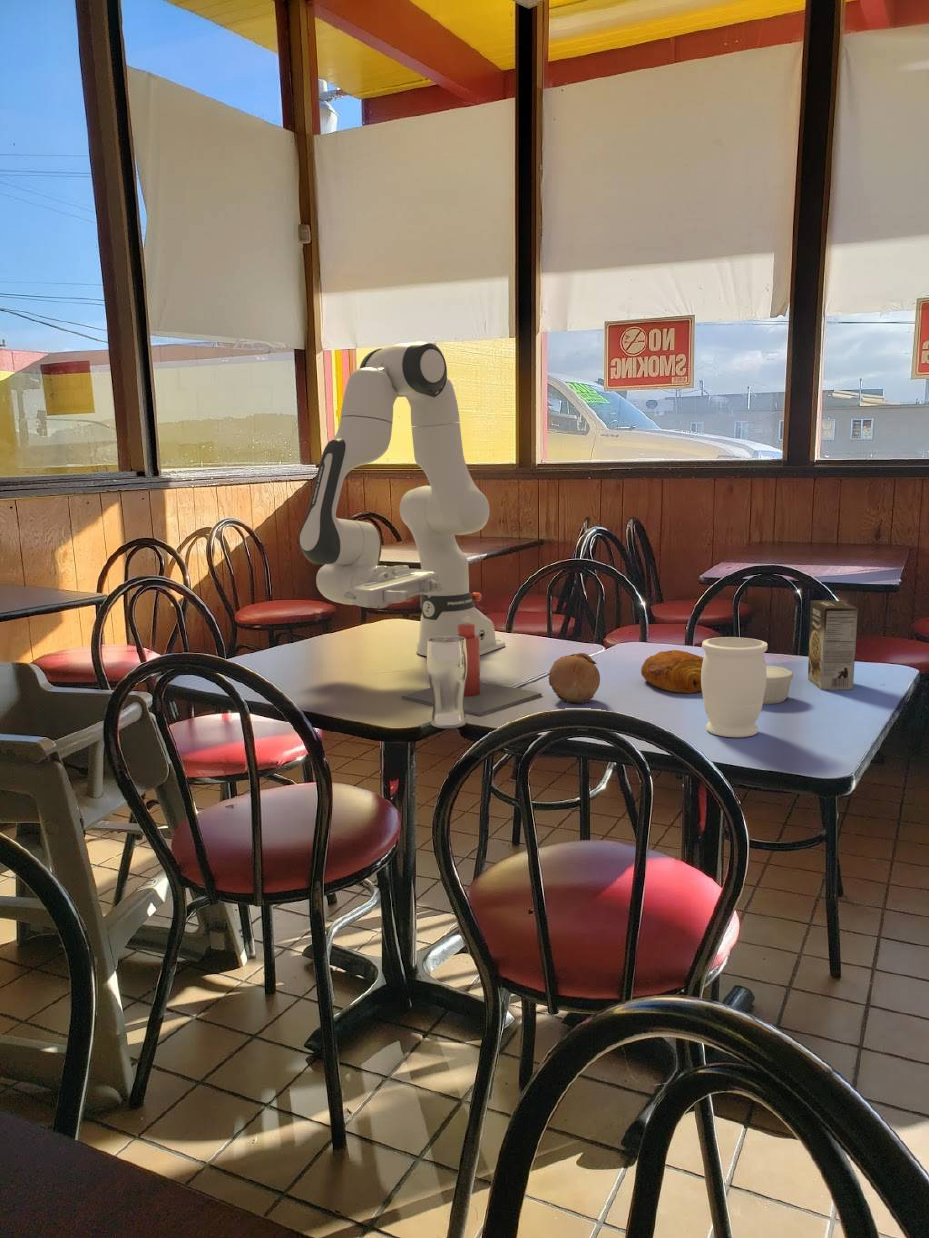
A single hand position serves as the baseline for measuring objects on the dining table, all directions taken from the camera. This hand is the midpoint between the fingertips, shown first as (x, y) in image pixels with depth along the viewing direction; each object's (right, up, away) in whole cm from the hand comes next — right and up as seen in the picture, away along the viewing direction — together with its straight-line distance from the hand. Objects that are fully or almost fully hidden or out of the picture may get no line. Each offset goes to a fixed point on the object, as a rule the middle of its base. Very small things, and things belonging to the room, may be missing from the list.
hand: (423, 591), depth 189 cm
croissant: (+51, -19, +1) cm, 55 cm away
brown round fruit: (+29, -21, -10) cm, 37 cm away
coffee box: (+80, -19, -2) cm, 82 cm away
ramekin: (+64, -21, -11) cm, 68 cm away
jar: (+52, -24, -31) cm, 66 cm away
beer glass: (+5, -24, -24) cm, 34 cm away
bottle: (+9, -20, -5) cm, 22 cm away
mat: (+9, -21, -6) cm, 23 cm away
